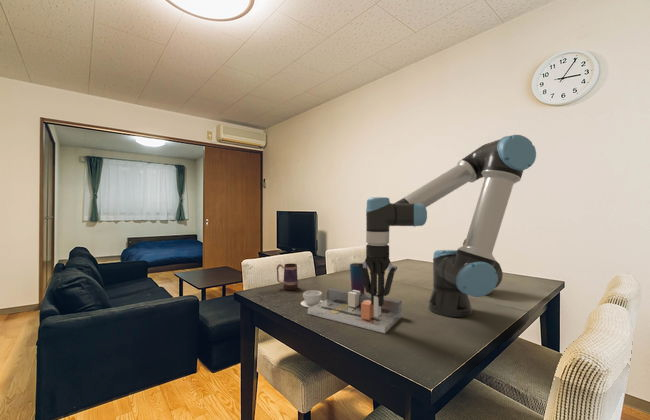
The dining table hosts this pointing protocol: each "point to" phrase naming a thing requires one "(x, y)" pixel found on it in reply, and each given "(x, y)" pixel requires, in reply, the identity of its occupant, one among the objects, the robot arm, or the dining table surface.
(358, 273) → the cup
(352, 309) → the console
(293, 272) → the mug
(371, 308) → the block
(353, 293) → the fader
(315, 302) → the teacup
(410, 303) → the dining table surface
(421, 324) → the dining table surface
